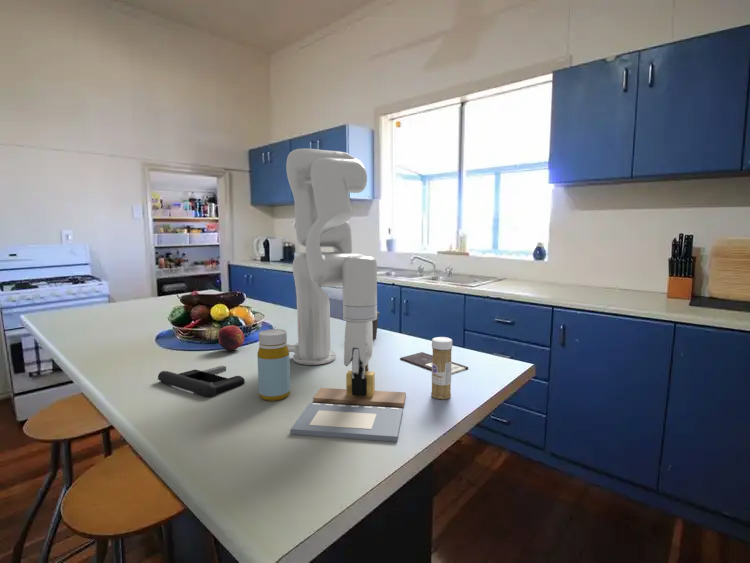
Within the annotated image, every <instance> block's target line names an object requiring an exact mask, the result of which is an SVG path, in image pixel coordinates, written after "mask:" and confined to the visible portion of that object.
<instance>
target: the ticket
mask: <svg viewBox="0 0 750 563" xmlns="http://www.w3.org/2000/svg"><path fill="white" fill-rule="evenodd" d="M403 408H404V407H391V406H374V405H357V404H340V403H324V402H309V403H308V404H307V406H306V408H305V409H304V411H302V413H301V415H300V416H298V418H297V419H296V421H295V423H294V424H292V426H291V428H290V429H289V430H290V432H289V433H290V435H297V436H298V435H299V436H312V437H313V436H314V437H324V438H339V439H354V440H355V439H356V440H365V441H366V440H368V441H380V442H381V441H382V442H395V443H398V440H399V435H400V431H401V430H400V428H401V424H402V418H403V413H404V409H403Z"/></svg>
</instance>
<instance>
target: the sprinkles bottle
mask: <svg viewBox="0 0 750 563" xmlns="http://www.w3.org/2000/svg"><path fill="white" fill-rule="evenodd" d="M431 347H432V348H431V349H432V355H433V356H432V357H433V358H432V359H433V360H432V371H431V393H430V395H431V396H432V398H434V399H436V400H447V399H449V398H451V397H452V393H451V389H452V388H451V385H452V374H451V362H452V350H453V349H452V348H453V339H452V338H449V337H446V336H437V337H433V338H432V339H431Z"/></svg>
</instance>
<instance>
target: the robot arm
mask: <svg viewBox="0 0 750 563" xmlns="http://www.w3.org/2000/svg"><path fill="white" fill-rule="evenodd" d="M285 166H286V167H285V169H286V176H287V181H288V183H289V187H290V190H291V193H292V195H293V196H292V197H293V201H294V217H295V221H294V222H295V234H296V240H297V243H298V244H299V245H300V246H301V247H305V252H303V253H300V254H298V255H296V256H295V258H294V259H293V261H292V273H293V274H292V275H293V279H294V285H295V293H296V318H297V321H296V322H297V342H296V343H294V344H292V343H287V347H288V350H289V353H294V354H293V355H292V360H293V362H295V363H296V364H298V365H299V364H300V365H306V366H316V365H317V366H318V365H319V366H320V365H323V364H324V365H325V364H328V363H331V362H333V361H334V360H336V358H337V357H336V356H337V355H336V352H335V351H332V350H331V309H330V308H331V306H330V298H329V296H328V294H327V293H326V292H325V291H324V289H323V288H329V287H331V288H332V287H342V320H344V321H346V322H345V328H344V330H345V331H344V350H343V351H344V352H343V354H344V355H343V358H344V359H343V364H344V366H345V367H348V366H349V365H351V371H352V395H354V396H366V394H367V379H366V378H365V371H369V368H370V367H369V362H370V360H371V358H372V356H373V346H374V345H373V341H374V340H373V328H372V325H373V324H372V321H374V320H376V319H377V311H378V264H377V260H376V259H375V257H373V256H371V255H370V256H369V255H364V254H362V253H353V245H352V244H353V243H352V242H353V241H352V229H351V225H350V222H349V220H350V219H351V218H352V216H353V208H352V205H351V199H350V196H349V193H351V194H352V193H353V194H359V193H361V192H363V191H364V190H365V189H366V187H367V182H368V174H367V171H366V168H365V165H364V164H363V163H362V161H361V160H360V159H358V158H356V157H355V156H353V155H351V154H350V153H348V152H345V151H339V150H326V149H319V148H296V149H293V150H292V151H290V152H289V154H288V155H287V158H286V165H285ZM321 248H332V249H333V251H322V249H321Z"/></svg>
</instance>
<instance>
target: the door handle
mask: <svg viewBox="0 0 750 563" xmlns="http://www.w3.org/2000/svg"><path fill="white" fill-rule="evenodd" d="M223 371H224V372H226V371H227V366H226V365H220V366H219V365H218V366H216V367H215V366H214V367H211V368H207V369H204V370H199V369H191V370H187V371H184V372H179V373H175V372H172V371H167V370H162V371H160V372H159V373H158V375H157V378H156V380H157V381H158V380H159V381H160V383H162V384H165V385H168V386H171V388H173V389H176V388H177V389H176V390H180V391H183V392H187V393H190V394H193V395H194V394H196V395H199V396H202V397H206V398H212V397H214V396H215V395H216V394H218V393H219V394H220V393H223V392H226V391H229V390H231V389H234V388H237V387H240V386H243V385H244V384H245V382H246V381H245V378H244V377H243V376H242V375H235V376H230V377H226V376H221V375H218V374H221V373H224V372H223ZM220 372H221V373H220ZM215 374H216V375H215ZM200 380H201V381H200ZM202 380H203V381H202ZM209 382H210V383H209ZM242 384H243V385H242Z"/></svg>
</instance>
